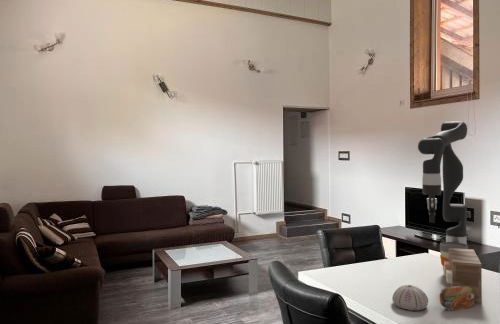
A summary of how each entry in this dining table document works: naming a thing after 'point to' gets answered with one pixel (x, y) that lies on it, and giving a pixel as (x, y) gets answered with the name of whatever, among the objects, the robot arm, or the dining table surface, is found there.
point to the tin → (457, 297)
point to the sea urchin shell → (410, 298)
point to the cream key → (449, 276)
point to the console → (466, 270)
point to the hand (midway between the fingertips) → (432, 222)
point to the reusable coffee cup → (445, 250)
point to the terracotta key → (446, 266)
